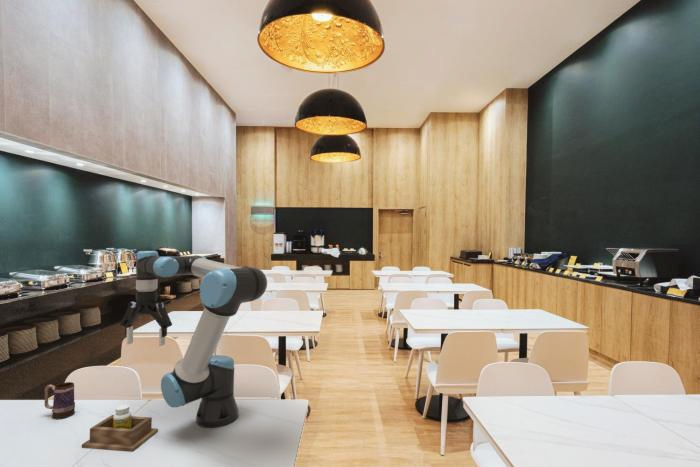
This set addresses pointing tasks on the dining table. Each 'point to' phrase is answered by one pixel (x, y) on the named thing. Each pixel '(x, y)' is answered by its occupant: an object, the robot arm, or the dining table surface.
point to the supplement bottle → (122, 417)
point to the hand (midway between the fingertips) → (145, 344)
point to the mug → (61, 400)
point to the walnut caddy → (120, 434)
